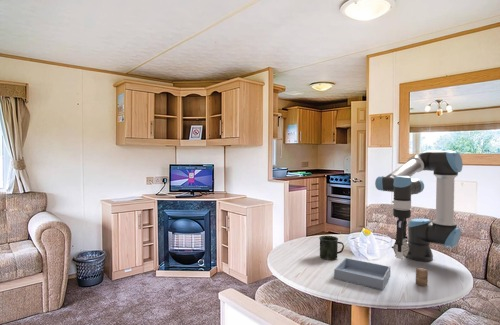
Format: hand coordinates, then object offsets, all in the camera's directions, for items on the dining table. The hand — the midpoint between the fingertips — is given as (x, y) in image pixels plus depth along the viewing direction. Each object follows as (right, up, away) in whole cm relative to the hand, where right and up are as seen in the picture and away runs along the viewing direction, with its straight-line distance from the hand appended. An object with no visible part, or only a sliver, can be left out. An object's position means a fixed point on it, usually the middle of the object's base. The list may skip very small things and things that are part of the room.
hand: (401, 254), depth 148 cm
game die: (0, -1, 0) cm, 1 cm away
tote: (-14, -15, +11) cm, 24 cm away
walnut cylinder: (+12, -15, +4) cm, 20 cm away
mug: (-23, -14, +40) cm, 48 cm away
